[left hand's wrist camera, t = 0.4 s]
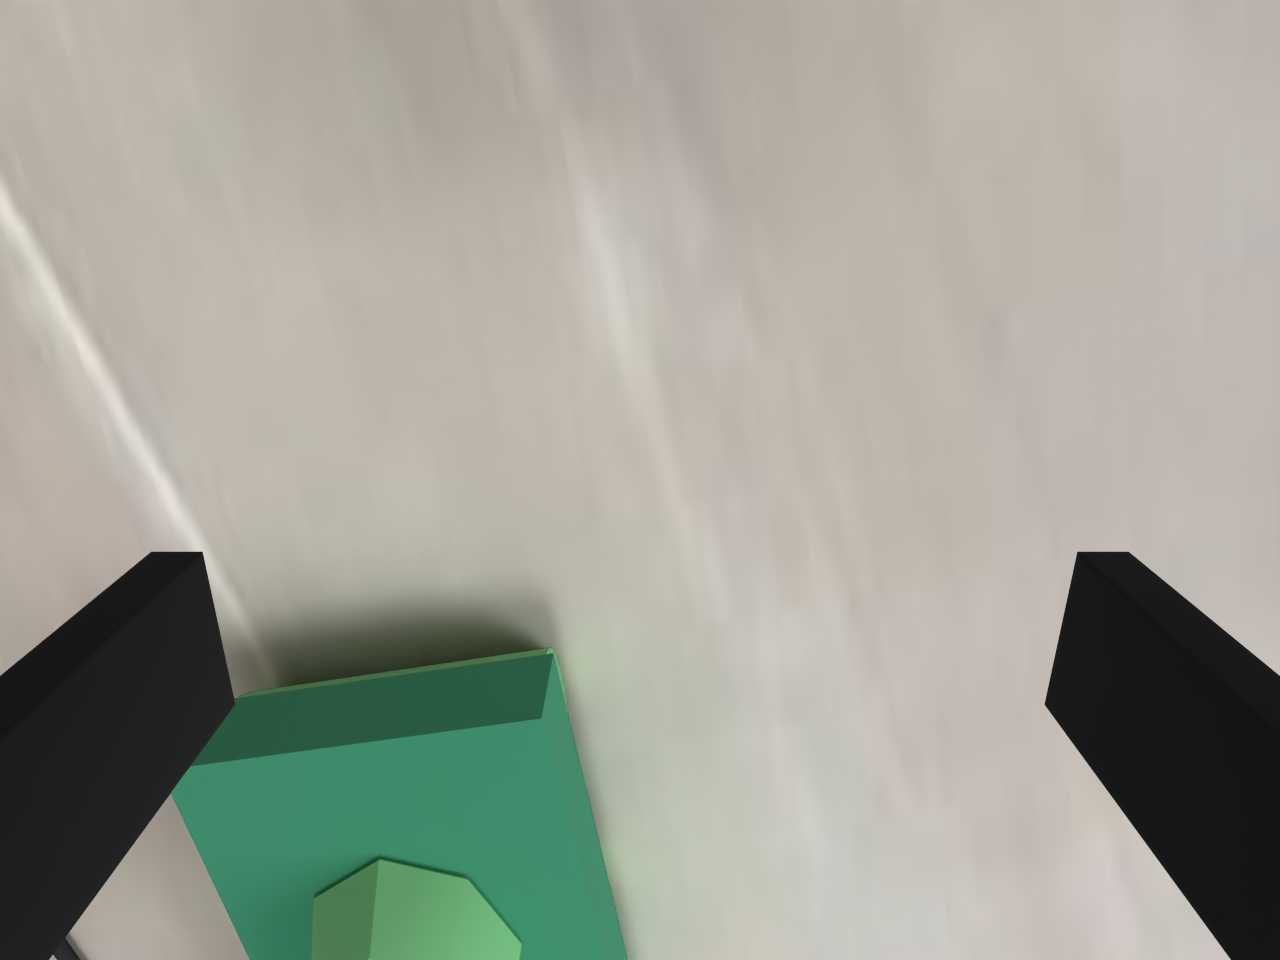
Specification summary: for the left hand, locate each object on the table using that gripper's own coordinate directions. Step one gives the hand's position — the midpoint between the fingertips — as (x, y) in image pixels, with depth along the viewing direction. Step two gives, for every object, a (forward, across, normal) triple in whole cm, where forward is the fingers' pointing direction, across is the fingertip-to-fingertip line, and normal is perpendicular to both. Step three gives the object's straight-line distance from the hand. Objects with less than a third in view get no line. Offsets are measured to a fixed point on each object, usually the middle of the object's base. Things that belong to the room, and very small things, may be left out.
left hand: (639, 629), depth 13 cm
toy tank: (+28, -10, -35) cm, 46 cm away
